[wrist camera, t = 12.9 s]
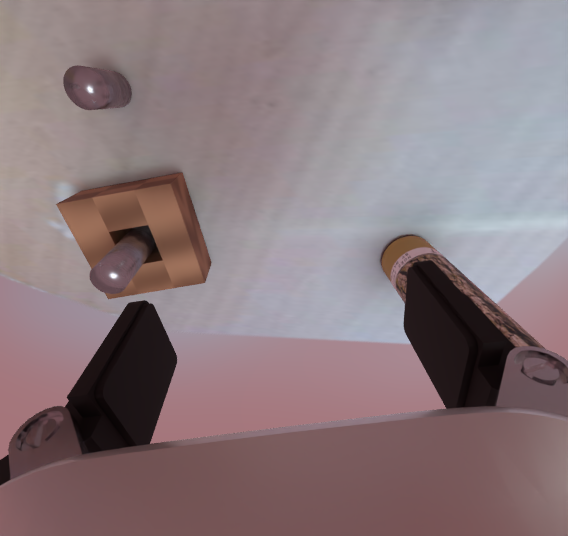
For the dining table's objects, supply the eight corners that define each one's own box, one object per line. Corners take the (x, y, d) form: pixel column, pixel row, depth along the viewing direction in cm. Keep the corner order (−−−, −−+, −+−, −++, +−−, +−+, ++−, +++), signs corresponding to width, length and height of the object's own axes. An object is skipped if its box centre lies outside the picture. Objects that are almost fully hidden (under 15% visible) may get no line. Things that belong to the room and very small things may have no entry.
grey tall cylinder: (133, 219, 38) (83, 267, 27) (159, 214, 38) (118, 261, 27) (143, 242, 39) (99, 296, 29) (168, 238, 39) (132, 291, 29)
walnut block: (81, 190, 36) (56, 204, 31) (182, 172, 35) (170, 183, 31) (124, 277, 42) (108, 299, 37) (211, 262, 41) (205, 282, 37)
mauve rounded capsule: (92, 74, 30) (55, 69, 25) (123, 67, 30) (93, 62, 25) (106, 110, 32) (75, 113, 27) (136, 104, 32) (111, 106, 26)
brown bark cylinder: (388, 285, 44) (506, 467, 23) (372, 247, 41) (492, 418, 19) (434, 264, 43) (606, 437, 21) (421, 224, 40) (608, 379, 18)
